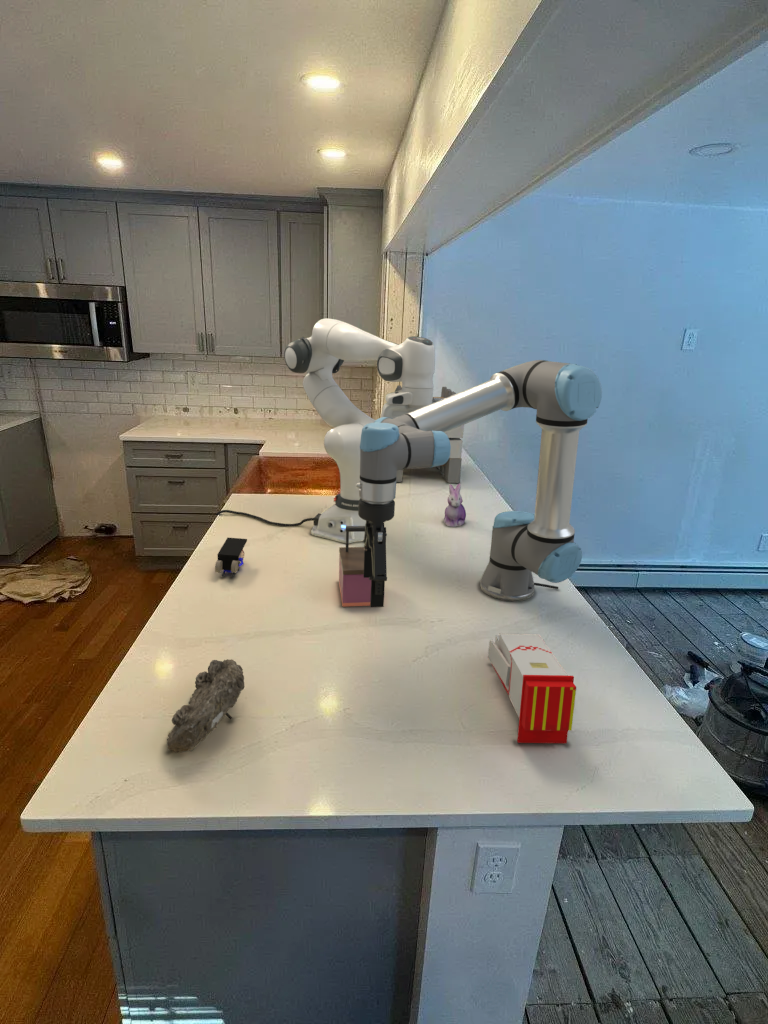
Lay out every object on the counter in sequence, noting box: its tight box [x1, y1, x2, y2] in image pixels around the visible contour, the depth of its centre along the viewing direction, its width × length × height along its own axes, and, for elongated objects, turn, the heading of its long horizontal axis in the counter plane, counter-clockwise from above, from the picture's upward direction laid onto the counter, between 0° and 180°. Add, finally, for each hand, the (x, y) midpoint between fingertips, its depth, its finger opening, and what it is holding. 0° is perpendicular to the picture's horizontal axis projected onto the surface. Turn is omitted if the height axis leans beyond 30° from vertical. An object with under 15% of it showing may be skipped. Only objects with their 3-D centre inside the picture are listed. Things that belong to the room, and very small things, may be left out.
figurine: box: [443, 483, 467, 528], centre depth 210 cm, size 9×10×15 cm
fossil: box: [166, 658, 245, 754], centre depth 106 cm, size 22×10×15 cm
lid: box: [338, 526, 367, 575], centre depth 153 cm, size 15×10×9 cm, turn 8°
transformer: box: [394, 384, 465, 484], centre depth 268 cm, size 34×33×41 cm
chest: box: [338, 552, 371, 608], centre depth 156 cm, size 14×10×9 cm
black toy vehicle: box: [214, 537, 248, 578], centre depth 166 cm, size 7×8×15 cm
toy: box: [487, 632, 577, 744], centre depth 116 cm, size 12×13×30 cm
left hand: (414, 445), depth 165 cm, fingers open, 8 cm apart
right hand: (373, 590), depth 124 cm, fingers open, 13 cm apart
